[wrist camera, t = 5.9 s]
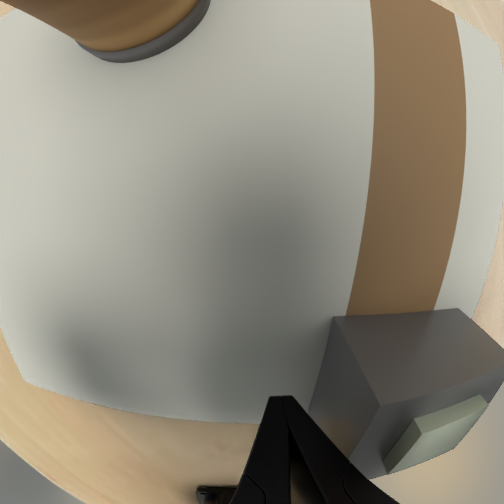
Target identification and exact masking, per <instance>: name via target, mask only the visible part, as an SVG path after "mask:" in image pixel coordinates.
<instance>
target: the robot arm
mask: <svg viewBox="0 0 504 504" xmlns="http://www.w3.org/2000/svg"><path fill="white" fill-rule="evenodd" d="M196 493H197V497H198V500H199V503H200V504H399V503H398V502H397V501H395V500H394V499H393V498H391V497H390V496H389V495H387V494H386V493H384V492H383V491H382V490H381V489H379V488H378V487H377V486H375V485H374V484H373V483H372V482H370V481H369V480H368V479H367V478H366V477H365V476H364V475H363V474H362V473H361V472H360V471H359V470H358V469H357V468H356V467H355V466H354V465H353V464H352V463H350V461H349V459H348V458H347V457H346V456H345V455H344V454H343V453H342V452H341V451H340V450H339V449H338V447H337V446H336V445H335V444H334V443H333V442H332V441H331V440H330V439H329V437H328V436H327V435H326V434H325V433H324V432H323V431H322V430H321V428H320V427H319V426H318V425H317V424H316V423H315V421H314V420H313V419H312V418H311V417H310V416H309V414H308V413H307V412H306V411H305V410H304V409H303V407H302V406H301V405H300V404H299V403H298V401H297V400H296V399H295V398H294V397H293V396H292V395H282V396H269V398H268V401H267V404H266V407H265V411H264V414H263V417H262V420H261V423H260V426H259V429H258V432H257V435H256V438H255V441H254V444H253V447H252V449H251V452H250V455H249V458H248V461H247V464H246V466H245V469H244V472H243V474H242V477H241V479H240V482H239V485H238V487H237V489H217V488H201V487H200V488H197V491H196Z"/></svg>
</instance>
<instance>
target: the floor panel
mask: <svg viewBox="0 0 504 504" xmlns="http://www.w3.org/2000/svg"><path fill="white" fill-rule="evenodd" d="M503 200H504V72H503V65H502V59H501V54H500V49H499V45H498V44H497V43H496V42H495V41H493V40H492V39H491V38H489V37H488V36H487V35H485V34H484V33H483V32H481V31H480V30H478V29H477V28H475V27H474V26H473V25H471V24H470V23H468V22H467V21H465V20H463V19H462V18H460V17H459V16H457V15H455V14H454V13H452V12H450V11H449V10H447V9H445V8H443V7H442V6H440V5H438V4H436V3H434V2H432V1H430V0H211V1H210V5H209V8H208V10H207V13H206V15H205V16H204V18H203V20H202V21H201V22H200V23H199V25H198V26H197V27H196V28H195V29H194V30H193V31H192V32H191V33H190V34H189V35H188V36H187V37H186V38H184V39H183V40H182V41H180V42H179V43H178V44H176V45H175V46H173V47H171V48H170V49H168V50H166V51H164V52H162V53H160V54H158V55H155V56H153V57H150V58H147V59H144V60H140V61H135V62H128V63H113V62H108V61H104V60H101V59H100V58H98V57H96V56H94V55H92V54H91V53H89V52H87V51H86V50H84V49H83V48H81V47H80V46H79V45H78V44H77V42H76V41H75V40H74V39H73V38H71V37H69V36H68V35H66V34H64V33H62V32H61V31H59V30H57V29H55V28H53V27H52V26H50V25H48V24H46V23H44V22H43V21H41V20H39V19H37V18H35V17H33V16H31V15H29V14H27V13H25V12H23V11H21V10H19V9H17V8H15V9H14V10H12V11H10V12H9V13H7V14H5V15H4V16H2V17H1V18H0V328H1V330H2V333H3V335H4V338H5V340H6V343H7V345H8V347H9V350H10V352H11V354H12V356H13V359H14V361H15V363H16V365H17V367H18V369H19V371H20V373H21V375H22V377H23V379H24V381H25V382H28V383H30V384H33V385H35V386H38V387H41V388H43V389H46V390H49V391H52V392H55V393H58V394H61V395H64V396H67V397H71V398H74V399H78V400H81V401H85V402H88V403H92V404H96V405H100V406H104V407H109V408H113V409H118V410H122V411H127V412H133V413H138V414H144V415H150V416H157V417H164V418H171V419H180V420H190V421H201V422H217V423H261V420H262V417H263V414H264V411H265V407H266V404H267V401H268V398H269V396H282V395H292V396H293V397H294V398H295V399H296V400H297V401H298V403H299V404H300V405H301V406H302V407H303V409H304V410H305V411H306V412H307V413H308V409H309V406H310V403H311V399H312V396H313V393H314V389H315V386H316V382H317V379H318V375H319V372H320V368H321V364H322V361H323V357H324V353H325V349H326V345H327V341H328V337H329V333H330V328H331V324H332V320H333V316H358V315H378V314H395V313H409V312H421V311H432V310H442V309H452V308H459V309H460V310H461V311H462V312H463V313H465V314H466V315H467V316H468V317H469V318H470V319H472V317H473V315H474V312H475V309H476V307H477V304H478V301H479V298H480V296H481V293H482V290H483V287H484V284H485V280H486V277H487V274H488V270H489V267H490V263H491V260H492V256H493V252H494V248H495V243H496V239H497V234H498V230H499V224H500V219H501V213H502V207H503Z"/></svg>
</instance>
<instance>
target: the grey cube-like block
mask: <svg viewBox="0 0 504 504" xmlns="http://www.w3.org/2000/svg"><path fill="white" fill-rule="evenodd" d="M503 381H504V349H503V348H502V347H501V346H500V345H499V344H498V343H497V342H496V341H495V340H494V339H492V338H491V337H490V336H489V335H488V334H487V333H486V332H485V331H484V330H483V329H482V328H480V327H479V326H478V325H477V324H476V323H475V322H474V321H473V320H472V319H470V318H469V317H468V316H467V315H466V314H465V313H463V312H462V311H461V310H460V309H459V308H452V309H442V310H432V311H421V312H409V313H395V314H378V315H358V316H333V320H332V324H331V328H330V333H329V337H328V341H327V345H326V349H325V353H324V357H323V361H322V364H321V368H320V372H319V375H318V379H317V382H316V386H315V389H314V393H313V396H312V399H311V403H310V406H309V409H308V414H309V416H310V417H311V418H312V419H313V420H314V421H315V423H316V424H317V425H318V426H319V427H320V428H321V430H322V431H323V432H324V433H325V434H326V435H327V436H328V437H329V439H330V440H331V441H332V442H333V443H334V444H335V445H336V446H337V447H338V449H339V450H340V451H341V452H342V453H343V454H344V455H345V456H346V457H347V458H348V459H349V461H350V463H352V464H353V465H354V466H355V467H356V468H357V469H358V470H359V471H360V472H361V473H362V474H363V475H364V476H365V477H366V478H367V479H368V480H369V479H373V478H376V477H380V476H384V475H389V474H392V473H395V472H398V471H401V470H404V469H407V468H409V467H412V466H415V465H417V464H420V463H422V462H425V461H427V460H430V459H432V458H434V457H437V456H439V455H441V454H444V453H446V452H448V451H450V450H452V449H454V448H455V447H456V446H457V444H458V443H459V442H460V441H461V440H462V439H463V438H464V436H465V435H466V434H467V433H468V432H469V430H470V429H471V428H472V427H473V426H474V424H475V423H476V422H477V420H478V419H479V418H480V416H481V415H482V414H483V412H484V411H485V410H486V408H487V407H488V406H489V405H488V404H489V403H490V401H491V400H492V398H493V397H494V395H495V394H496V392H497V391H498V389H499V388H500V386H501V385H502V383H503Z"/></svg>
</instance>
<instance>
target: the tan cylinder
mask: <svg viewBox="0 0 504 504" xmlns="http://www.w3.org/2000/svg"><path fill="white" fill-rule="evenodd" d="M0 1H2V2H4V3H7V4H9V5H11V6H13V7H15V8H17V9H19V10H21V11H23V12H25V13H27V14H29V15H31V16H33V17H35V18H37V19H39V20H41V21H43V22H44V23H46V24H48V25H50V26H52V27H53V28H55V29H57V30H59V31H61V32H62V33H64V34H66V35H68V36H69V37H71V38H73V39H74V40H75V41H76V42H77V44H78V45H79V46H80V47H81V48H83V49H84V50H86V51H87V52H89V53H91V54H92V55H94V56H96V57H98V58H100V59H101V60H104V61H108V62H113V63H128V62H135V61H140V60H144V59H147V58H150V57H153V56H155V55H158V54H160V53H162V52H164V51H166V50H168V49H170V48H171V47H173V46H175V45H176V44H178V43H179V42H180V41H182V40H183V39H184V38H186V37H187V36H188V35H189V34H190V33H191V32H192V31H193V30H194V29H195V28H196V27H197V26H198V25H199V23H200V22H201V21H202V20H203V18H204V16H205V15H206V13H207V10H208V8H209V5H210V1H211V0H0Z"/></svg>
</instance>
